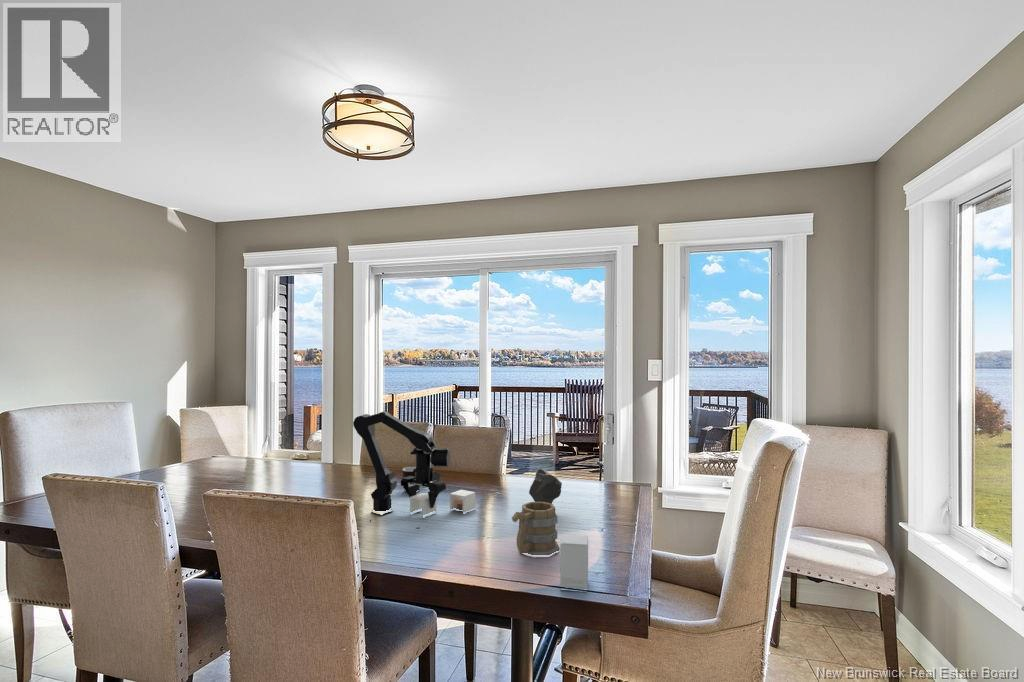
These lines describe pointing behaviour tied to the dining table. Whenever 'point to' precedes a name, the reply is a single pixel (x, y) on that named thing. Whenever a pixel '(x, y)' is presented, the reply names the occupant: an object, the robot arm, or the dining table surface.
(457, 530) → the dining table surface
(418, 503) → the cover
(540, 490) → the dark grey rock
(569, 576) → the supplement box
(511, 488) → the dining table surface
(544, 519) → the tankard
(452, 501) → the cover
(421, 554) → the dining table surface
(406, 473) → the coffee mug
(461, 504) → the plain orange cube
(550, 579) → the dining table surface
